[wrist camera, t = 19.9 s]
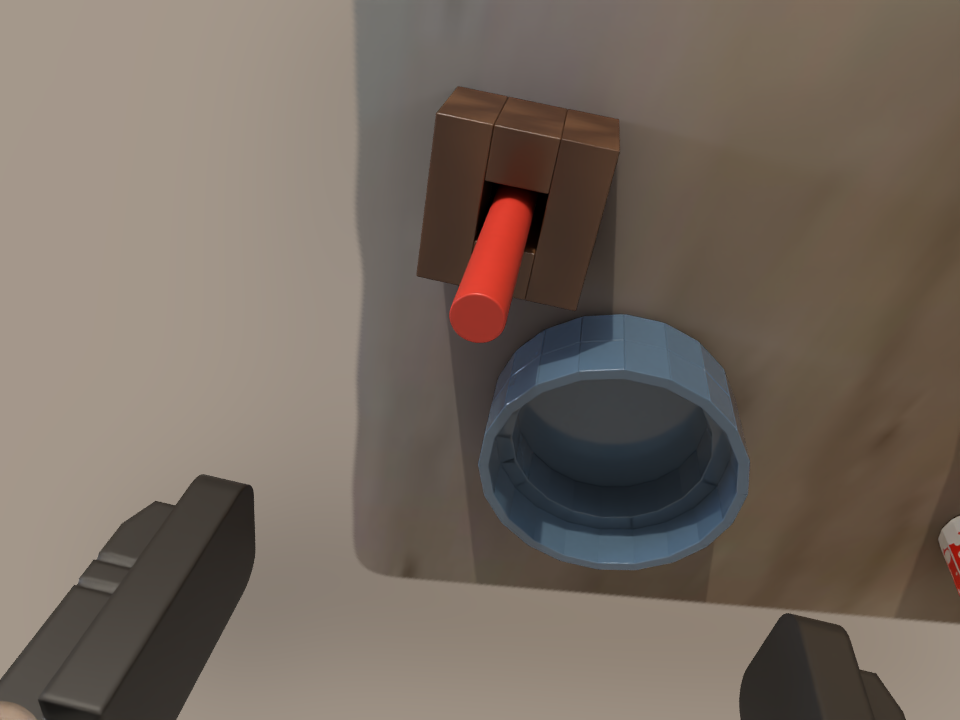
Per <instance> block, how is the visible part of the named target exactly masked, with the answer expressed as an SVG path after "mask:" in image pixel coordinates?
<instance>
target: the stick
mask: <svg viewBox="0 0 960 720" xmlns="http://www.w3.org/2000/svg"><path fill="white" fill-rule="evenodd" d="M538 194H539V192H536V191H531V190H527V189H522V188H517V187H512V186H508V185H503V184H499V187H498V189H497V192H496V194H495V197H494V199H493V202H492V204H491V207H490V210H489V212H488V215H487V217H486V220H485V222H484V225H483V227H482V230H481V232H480V235H479V237H478V240H477V243H476V245H475V248H474V250H473V253H472V255H471V258H470V260H469V263H468V265H467V268H466V270H465V273H464V276H463V278H462V281H461V283H460V286H459V288H458V291H457V293H456V296H455V298H454V301H453V303H452V306H451V308H450V313H449V318H450V322H451V325H452V327H453V329H454V330H455V332H456V333H457V334H458V335H459V336H461V337H462V338H464V339H466V340H468V341H471V342H475V343H485V342H489V341H492V340H494V339H495V338H497V337H498V336H499V335H500V334H501V333H502V332H503V330H504V328H505V325H506V321H507V317H508V313H509V309H510V305H511V301H512V297H513V293H514V289H515V285H516V281H517V277H518V273H519V269H520V265H521V261H522V257H523V253H524V249H525V245H526V241H527V237H528V234H529V230H530V226H531V222H532V218H533V214H534V210H535V206H536V202H537V198H538Z"/></svg>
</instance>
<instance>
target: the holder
mask: <svg viewBox="0 0 960 720" xmlns="http://www.w3.org/2000/svg"><path fill="white" fill-rule="evenodd" d="M619 153H620V140H619V120H618V119H614V118H609V117H604V116H599V115H595V114H590V113H585V112H580V111H575V110H571V109H568V110H567V109H565V108H560V107H555V106H550V105H546V104H541V103H536V102H531V101H526V100H522V99H517V98H512V97H509V98H508V97H507V96H502V95H498V94H493V93H488V92H483V91H478V90H474V89H469V88H464V87H457V88H456V89H455V91H454V92H453V93H452V94H451V96H450V97H449V98H448V99H447V101H446V102H445V103H444V104H443V106H442V107H441V108H440V109H439V111H438V112H437V113H436V119H435V127H434V136H433V144H432V152H431V160H430V168H429V177H428V185H427V193H426V201H425V209H424V218H423V226H422V234H421V242H420V250H419V259H418V267H417V276H418V277H423V278H427V279H432V280H436V281H441V282H446V283H450V284H455V285H459V286H460V283H461V281H462V278H463V276H464V273H465V270H466V268H467V265H468V263H469V260H470V258H471V255H472V253H473V250H474V248H475V245H476V243H477V240H478V237H479V235H480V232H481V230H482V227H483V225H484V222H485V220H486V217H487V215H488V212H489V210H490V207H491V204H492V203H490V198H491V192H492V186H493V182H494V183H498V184H503V185H508V186H512V187H517V188H522V189H527V190H531V191H536V192H541V193H545V194H549V195H548V199H547V204H546V208H545V213H544V214H541V213H537V212H534V214H533V218H532V222H531V226H530V230H529V234H528V237H527V241H526V245H525V249H524V253H523V257H522V261H521V265H520V269H519V273H518V277H517V281H516V285H515V289H514V293H513V297H514V298H518V299H523V300H527V301H531V302H536V303H540V304H545V305H550V306H554V307H559V308H563V309H568V310H572V311H576V309H577V306H578V302H579V298H580V295H581V291H582V287H583V284H584V280H585V277H586V273H587V269H588V266H589V262H590V258H591V255H592V251H593V247H594V244H595V240H596V236H597V233H598V229H599V226H600V222H601V218H602V215H603V211H604V207H605V204H606V200H607V196H608V193H609V189H610V185H611V182H612V178H613V175H614V171H615V167H616V164H617V160H618V156H619ZM489 203H490V204H489Z"/></svg>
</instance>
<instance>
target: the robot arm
mask: <svg viewBox="0 0 960 720" xmlns="http://www.w3.org/2000/svg"><path fill="white" fill-rule="evenodd" d="M254 558H255V522H254V493H253V488H252V487H251V486H250V485H247V484H243V483H238V482H234V481H230V480H226V479H221V478H217V477H213V476H209V475H204V474H203V475H199V476H198V477H197V478H196V479H195V480H194V481H193V482H192V483H191V485H190V486H189V487H188V489H187V490H186V492H185V493H184V494H183V496H182V497H181V499H180V500H179V501H178V503H177V504H176V505H171V504H166V503H162V502H158V501H155V502H153V503H152V504H151V505H149V506H147V507H146V508H144V509H143V510H141V511H140V512H138V513H137V514H136V515H134V516H133V517H131V518H130V519H128V520H127V521H125V522H124V523H123V524H121V526H120V527H119V528H118V529H117V531H116V532H115V533H114V535H113V536H112V537H111V538H110V540H109V541H108V542H107V544H106V545H105V546H104V547H103V549H102V550H101V551H100V552H99V556H98V558H97V560H93V561H92V563H91V564H90V565H89V567H88V568H87V569H86V570H85V572H84V573H83V574H82V576H81V577H80V578H79V583H78V584H77V585H74V586H73V587H72V588H71V590H70V591H69V592H68V594H67V595H66V596H65V597H64V599H63V600H62V601H61V603H60V604H59V605H58V607H57V608H56V609H55V610H54V612H53V613H52V614H51V615H50V617H49V618H48V619H47V621H46V622H45V623H44V624H43V626H42V627H41V628H40V630H39V631H38V632H37V633H36V635H35V636H34V637H33V638H32V640H31V641H30V642H29V644H28V645H27V646H26V647H25V649H24V650H23V651H22V653H21V654H20V655H19V656H18V658H17V659H16V660H15V662H14V663H13V664H12V665H11V667H10V668H9V669H8V671H7V672H6V673H5V674H4V676H3V677H2V678H1V680H0V720H176V719H177V717H178V715H179V713H180V711H181V710H182V708H183V706H184V704H185V702H186V700H187V698H188V696H189V694H190V692H191V691H192V689H193V687H194V685H195V683H196V681H197V679H198V677H199V675H200V673H201V672H202V670H203V668H204V666H205V664H206V662H207V660H208V658H209V657H210V655H211V653H212V651H213V649H214V647H215V645H216V643H217V642H218V640H219V638H220V636H221V634H222V632H223V630H224V628H225V626H226V625H227V623H228V621H229V619H230V617H231V615H232V613H233V611H234V609H235V608H236V606H237V604H238V602H239V600H240V598H241V596H242V594H243V592H244V590H245V588H246V586H247V583H248V581H249V578H250V575H251V572H252V568H253V564H254ZM739 707H740V717H741V720H906V719H905V716H904V713H903V711H902V710H901V709H900V707H899V706H898V704H897V703H896V701H895V700H894V699H893V697H892V696H891V694H890V693H889V691H888V690H887V689H886V687H885V686H884V684H883V683H882V681H881V680H880V678H879V677H878V676H877V674H876V673H872V672H867V671H863V670H859V667H858V663H857V660H856V657H855V654H854V651H853V647H852V644H851V641H850V638H849V636H848V634H847V632H846V631H845V630H844V628H843V627H841V626H840V625H836V624H832V623H827V622H824V621H819V620H815V619H811V618H807V617H802V616H798V615H794V614H789V613H786V614H784V615H782V616H781V617H780V618H779V620H778V621H777V623H776V624H775V626H774V627H773V629H772V631H771V632H770V634H769V635H768V637H767V638H766V640H765V641H764V643H763V644H762V646H761V647H760V649H759V651H758V652H757V654H756V655H755V657H754V658H753V660H752V661H751V663H750V664H749V666H748V668H747V669H746V671H745V673H744V676H743V680H742V684H741V689H740V698H739Z"/></svg>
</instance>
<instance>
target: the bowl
mask: <svg viewBox="0 0 960 720" xmlns="http://www.w3.org/2000/svg"><path fill="white" fill-rule="evenodd" d="M478 468H479V473H480V478H481V483H482V488H483V493H484V496H485V498H486V499H487V501H488V502H489V504H490V506H491V507H492V509H493V510H494V512H495V513H496V515H497V517H498V518H499V520H500V521H501V522H502V524H504V525H505V526H506V527H507V528H508V529H509V530H511V531H512V532H513V533H514V534H515V535H516V536H518V537H519V538H520V539H521V540H522V541H524V542H525V543H526V544H528V546H530V547H533V548H535V549H537V550H539V551H541V552H543V553H545V554H547V555H549V556H551V557H553V558H555V559H557V560H559V561H560V560H561V561H563V562H567V563H572V564H576V565H580V566H585V567H589V568H593V569H598V570H639V569H644V568H649V567H654V566H659V565H664V564H669V563H673V562H676V561H678V560H680V559H682V558H684V557H687V556H689V555H691V554H693V553H695V552H697V551H699V550H701V549H704V548H706V546H708V545H710V544H711V543H712V542H713V541H714V540H715V539H716V538H717V537H718V536H720V535H721V534H722V533H723V532H724V531H725V530H726V529H727V528H729V527H730V526H731V525H732V523H733V522H734V520H735V518H736V516H737V515H738V513H739V511H740V509H741V507H742V505H743V503H744V501H745V499H746V497H747V495H748V488H749V471H750V459H749V455H748V451H747V447H746V442H745V438H744V434H743V430H742V426H741V421H740V417H739V413H738V409H737V404H736V400H735V397H734V394H733V392H732V389H731V386H730V384H729V381H728V379H727V376H726V373H725V371H724V369H723V368H722V366H721V365H720V364H719V363H718V362H717V361H716V360H715V359H714V358H713V357H712V356H711V354H710V353H709V352H708V351H707V350H706V349H705V348H704V347H703V346H702V345H701V344H700V343H699V342H698V341H697V340H695V339H693V338H691V337H689V336H688V335H686V334H684V333H682V332H680V331H679V330H677V329H675V328H673V327H671V326H669V325H668V324H666V323H663V322H658V321H654V320H649V319H645V318H640V317H636V316H631V315H626V314H624V315H623V314H616V315H598V316H583V317H579V318H577V319H574V320H571V321H568V322H565V323H562V324H559V325H556V326H553V327H551V328H548V329H546V330H543V331H542V332H541V333H539V334H538V335H537V336H535V337H534V338H532V339H531V340H530V341H528V342H527V343H526V344H524V345H523V346H522V347H520V348H519V349H518V350H517V351H516V352H515V353H514V355H513V356H512V358H511V359H510V360H509V362H508V363H507V365H506V366H505V368H504V369H503V371H502V372H501V374H500V375H499V377H498V380H497V384H496V388H495V392H494V397H493V401H492V405H491V409H490V413H489V417H488V421H487V426H486V430H485V434H484V439H483V443H482V448H481V453H480V457H479V462H478Z"/></svg>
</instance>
